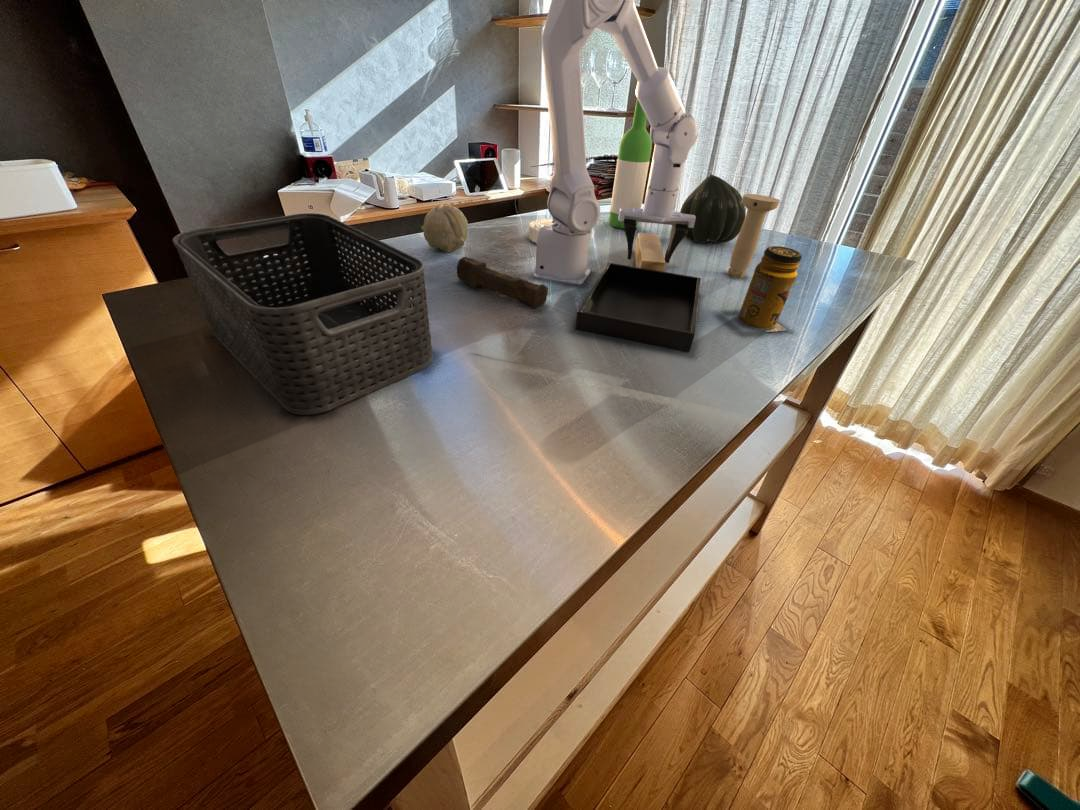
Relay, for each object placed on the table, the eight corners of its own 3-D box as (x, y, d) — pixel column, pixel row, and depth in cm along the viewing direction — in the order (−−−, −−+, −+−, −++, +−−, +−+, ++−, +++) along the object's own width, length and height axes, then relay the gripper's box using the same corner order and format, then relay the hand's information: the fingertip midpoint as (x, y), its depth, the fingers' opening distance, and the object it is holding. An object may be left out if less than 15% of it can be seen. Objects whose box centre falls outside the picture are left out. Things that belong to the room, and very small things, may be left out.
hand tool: (548, 305, 75) (550, 279, 72) (534, 312, 72) (536, 285, 70) (468, 276, 84) (467, 251, 81) (453, 281, 81) (451, 256, 78)
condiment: (786, 331, 72) (819, 258, 65) (741, 334, 70) (769, 259, 63) (759, 311, 78) (786, 242, 70) (717, 313, 76) (740, 243, 69)
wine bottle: (607, 228, 114) (627, 85, 96) (608, 220, 120) (628, 84, 102) (637, 231, 113) (664, 87, 95) (637, 223, 119) (662, 86, 101)
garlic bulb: (467, 259, 97) (482, 216, 91) (440, 263, 90) (454, 217, 84) (437, 237, 99) (449, 193, 93) (409, 239, 92) (420, 192, 87)
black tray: (574, 331, 68) (577, 311, 66) (605, 279, 86) (607, 262, 84) (688, 354, 64) (694, 334, 62) (695, 295, 82) (700, 277, 80)
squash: (756, 230, 99) (755, 166, 100) (689, 229, 99) (689, 165, 101) (729, 256, 114) (728, 200, 115) (671, 255, 114) (671, 199, 115)
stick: (637, 282, 85) (641, 260, 83) (634, 252, 99) (638, 232, 97) (660, 285, 85) (665, 262, 82) (654, 254, 99) (658, 234, 96)
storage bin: (444, 361, 59) (435, 263, 51) (300, 426, 47) (258, 312, 39) (337, 294, 74) (317, 209, 66) (207, 331, 62) (162, 233, 54)
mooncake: (532, 229, 109) (533, 214, 107) (580, 234, 108) (582, 219, 106) (524, 244, 100) (525, 228, 98) (577, 249, 99) (579, 233, 97)
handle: (746, 283, 88) (774, 203, 79) (715, 274, 91) (739, 196, 82) (755, 277, 91) (783, 199, 82) (725, 268, 94) (749, 192, 85)
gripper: (624, 189, 80) (612, 262, 89) (705, 196, 79) (685, 270, 87) (623, 181, 86) (612, 251, 94) (699, 188, 85) (681, 258, 93)
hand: (647, 259), depth 91 cm, fingers open, 7 cm apart
